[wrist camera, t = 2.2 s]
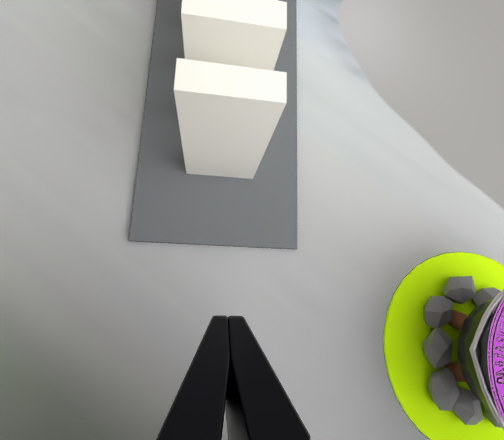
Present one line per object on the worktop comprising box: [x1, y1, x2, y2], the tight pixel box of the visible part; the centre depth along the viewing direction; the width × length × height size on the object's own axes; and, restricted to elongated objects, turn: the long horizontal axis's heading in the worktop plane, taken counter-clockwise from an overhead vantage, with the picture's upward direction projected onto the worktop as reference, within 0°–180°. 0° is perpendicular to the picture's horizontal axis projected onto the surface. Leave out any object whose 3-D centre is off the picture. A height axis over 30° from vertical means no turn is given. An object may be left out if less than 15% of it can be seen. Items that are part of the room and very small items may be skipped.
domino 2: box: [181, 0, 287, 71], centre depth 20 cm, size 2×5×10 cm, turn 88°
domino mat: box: [129, 0, 297, 249], centre depth 25 cm, size 28×12×1 cm, turn 178°
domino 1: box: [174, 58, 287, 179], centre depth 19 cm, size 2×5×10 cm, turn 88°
